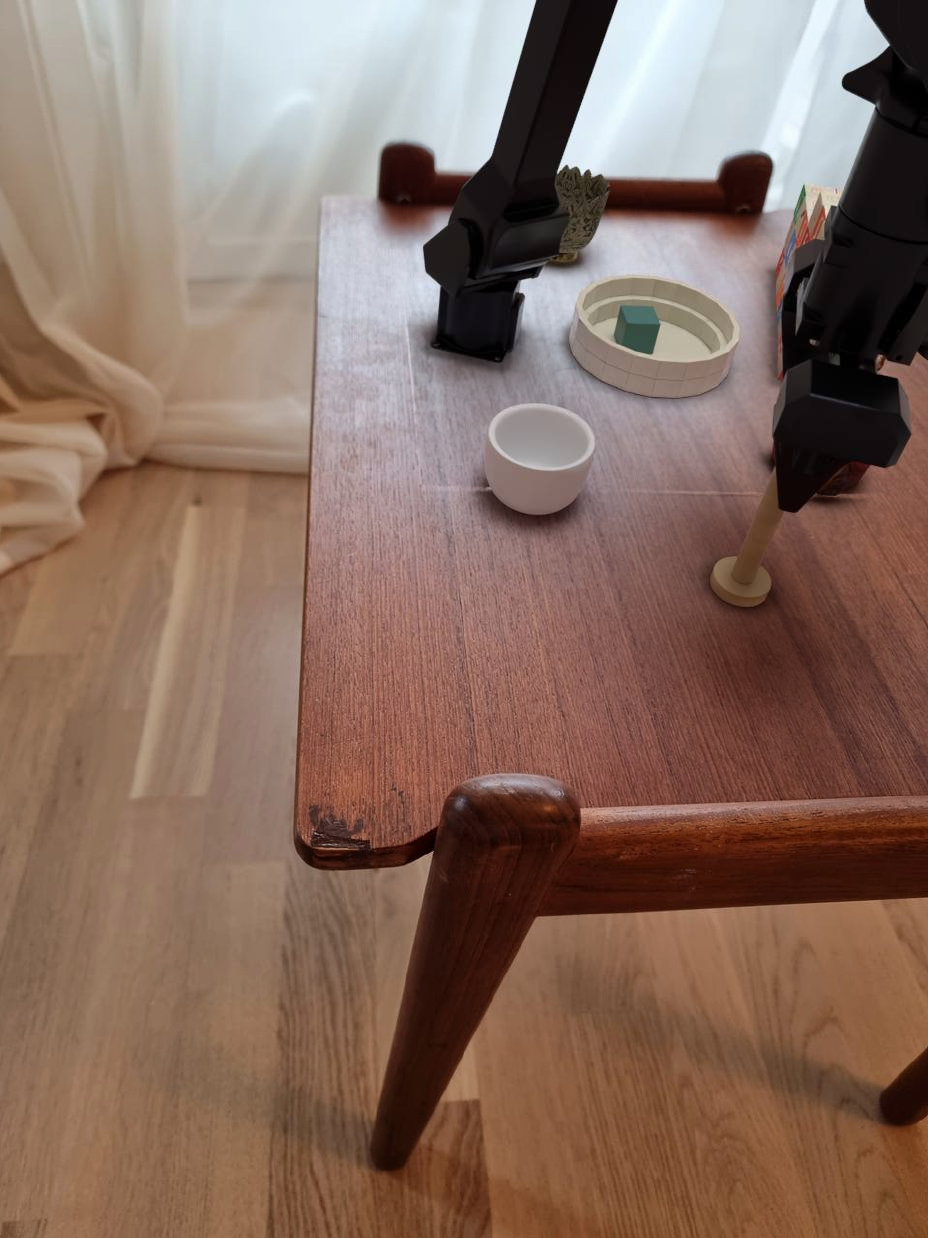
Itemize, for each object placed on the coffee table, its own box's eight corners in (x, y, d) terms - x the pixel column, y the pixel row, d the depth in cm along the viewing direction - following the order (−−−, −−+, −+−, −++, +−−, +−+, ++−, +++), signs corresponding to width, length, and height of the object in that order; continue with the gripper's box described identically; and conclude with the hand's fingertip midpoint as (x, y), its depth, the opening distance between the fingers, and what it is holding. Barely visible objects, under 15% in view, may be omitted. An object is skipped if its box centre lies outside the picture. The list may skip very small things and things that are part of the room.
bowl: (554, 380, 83) (562, 338, 81) (583, 301, 93) (591, 261, 90) (719, 418, 82) (734, 377, 79) (732, 334, 92) (745, 294, 89)
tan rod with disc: (707, 598, 67) (763, 458, 58) (712, 560, 70) (766, 420, 61) (765, 613, 67) (830, 474, 58) (768, 574, 69) (830, 435, 60)
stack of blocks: (772, 271, 101) (815, 148, 92) (833, 283, 100) (882, 160, 92) (775, 384, 86) (827, 251, 77) (847, 398, 86) (907, 266, 77)
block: (619, 353, 86) (627, 322, 84) (613, 334, 88) (620, 304, 86) (652, 354, 87) (660, 324, 85) (645, 336, 89) (653, 306, 87)
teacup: (562, 543, 69) (575, 483, 65) (462, 508, 71) (470, 448, 67) (604, 466, 76) (618, 407, 72) (512, 435, 77) (521, 376, 74)
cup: (524, 237, 101) (536, 158, 95) (595, 248, 101) (611, 169, 95) (517, 272, 96) (529, 190, 90) (592, 284, 95) (608, 202, 90)
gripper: (1094, 346, 42) (932, 599, 53) (1034, 177, 55) (913, 411, 66) (833, 289, 43) (728, 549, 54) (834, 136, 56) (749, 373, 67)
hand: (789, 463), depth 60 cm, fingers open, 9 cm apart
